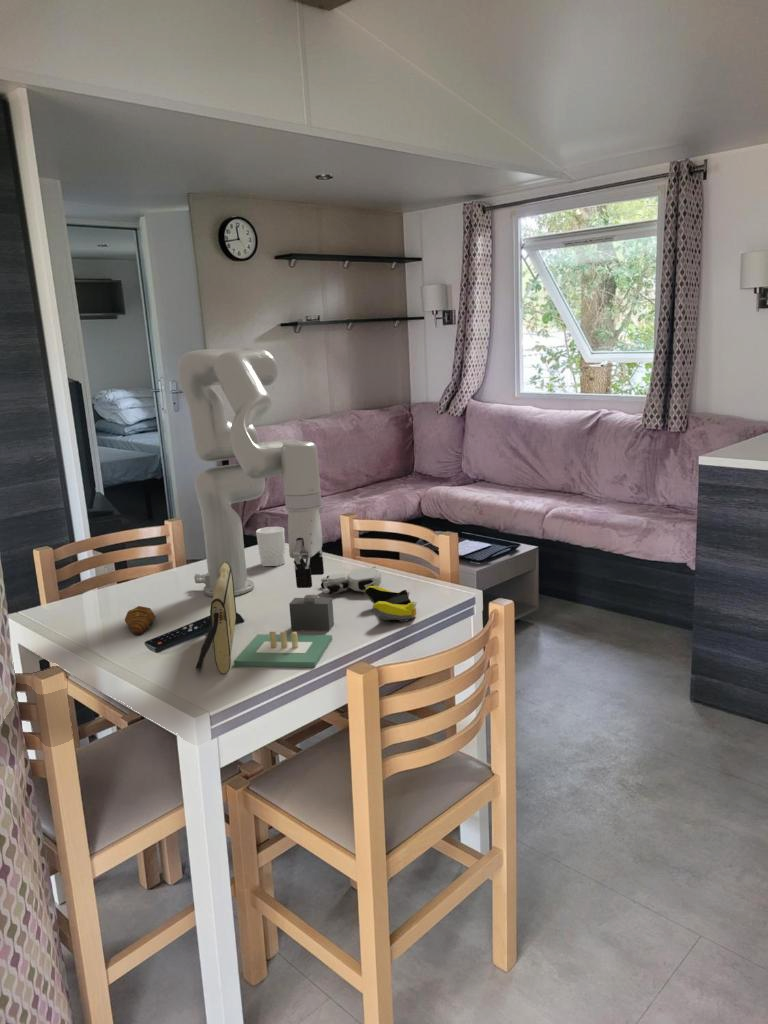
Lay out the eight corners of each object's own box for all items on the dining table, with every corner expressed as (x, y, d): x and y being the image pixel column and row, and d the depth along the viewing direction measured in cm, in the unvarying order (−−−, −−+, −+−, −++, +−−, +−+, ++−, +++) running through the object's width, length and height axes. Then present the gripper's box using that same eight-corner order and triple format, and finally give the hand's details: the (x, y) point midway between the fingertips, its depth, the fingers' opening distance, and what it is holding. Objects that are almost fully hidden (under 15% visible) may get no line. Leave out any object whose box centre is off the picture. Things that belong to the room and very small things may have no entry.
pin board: (234, 665, 147) (232, 645, 146) (258, 638, 161) (256, 620, 160) (314, 667, 144) (313, 646, 143) (332, 639, 158) (330, 620, 157)
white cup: (253, 565, 218) (250, 531, 216) (274, 558, 224) (271, 525, 222) (272, 569, 213) (268, 534, 211) (292, 562, 219) (290, 528, 216)
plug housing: (291, 630, 164) (288, 599, 163) (296, 623, 168) (294, 593, 167) (329, 630, 163) (327, 599, 161) (334, 624, 167) (331, 593, 165)
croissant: (129, 619, 179) (126, 598, 178) (159, 615, 180) (157, 595, 179) (121, 639, 166) (118, 617, 165) (154, 635, 167) (151, 613, 166)
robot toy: (323, 604, 184) (385, 594, 185) (320, 586, 183) (382, 576, 184) (321, 589, 196) (380, 580, 197) (319, 572, 195) (377, 563, 196)
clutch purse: (206, 627, 169) (199, 562, 166) (238, 624, 170) (231, 559, 167) (192, 683, 141) (184, 605, 138) (231, 678, 142) (223, 601, 138)
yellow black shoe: (375, 629, 163) (421, 624, 164) (373, 604, 162) (420, 599, 163) (364, 607, 177) (407, 602, 179) (363, 584, 176) (405, 579, 178)
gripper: (297, 495, 169) (304, 570, 172) (273, 510, 152) (281, 593, 155) (330, 493, 167) (337, 569, 171) (310, 508, 151) (317, 592, 154)
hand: (310, 580), depth 163 cm, fingers open, 9 cm apart
